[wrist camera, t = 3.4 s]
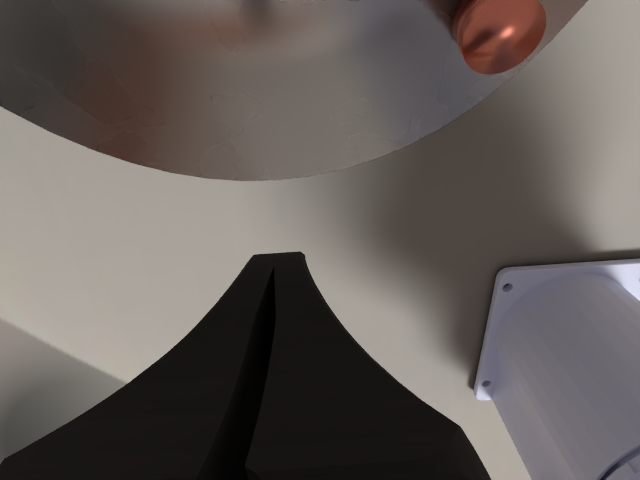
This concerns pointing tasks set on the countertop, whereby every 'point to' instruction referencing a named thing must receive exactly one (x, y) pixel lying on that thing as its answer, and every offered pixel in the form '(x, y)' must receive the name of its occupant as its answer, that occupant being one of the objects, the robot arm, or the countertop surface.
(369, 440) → the robot arm
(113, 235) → the countertop surface
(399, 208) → the countertop surface
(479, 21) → the cooker lid
